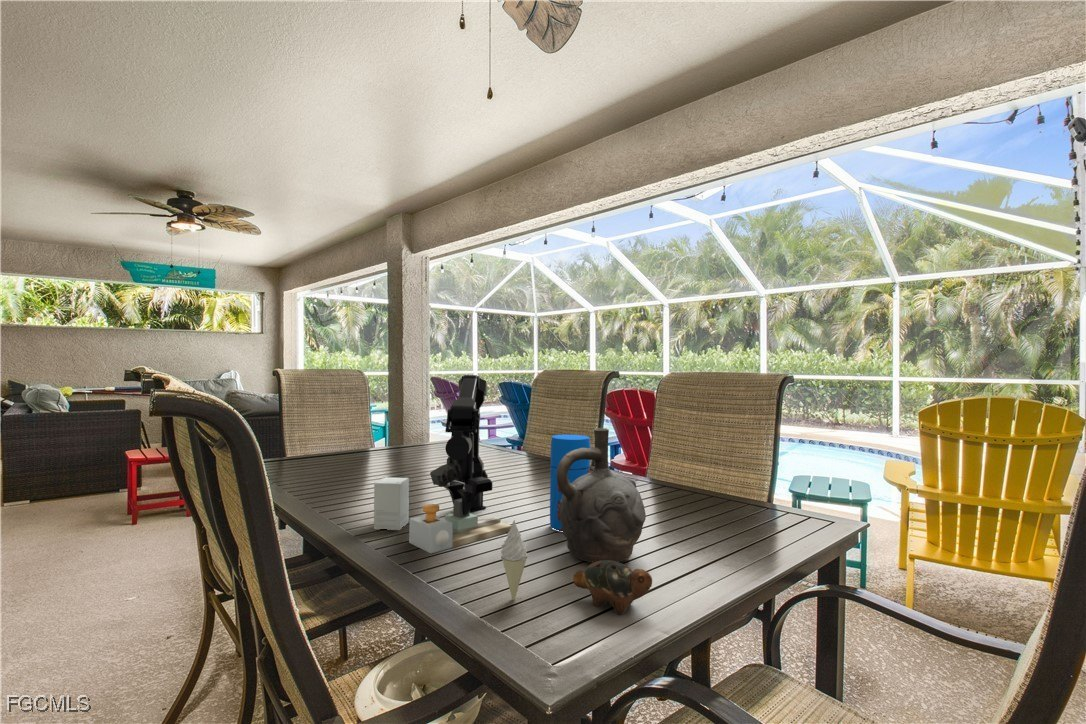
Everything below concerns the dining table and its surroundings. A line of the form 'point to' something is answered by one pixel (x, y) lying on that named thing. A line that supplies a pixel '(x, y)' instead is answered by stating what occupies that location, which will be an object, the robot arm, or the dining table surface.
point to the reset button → (431, 512)
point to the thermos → (577, 469)
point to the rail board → (480, 531)
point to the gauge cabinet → (430, 534)
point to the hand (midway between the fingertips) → (461, 513)
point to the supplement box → (391, 503)
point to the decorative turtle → (613, 583)
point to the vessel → (599, 507)
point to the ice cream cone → (514, 558)
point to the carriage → (461, 517)
